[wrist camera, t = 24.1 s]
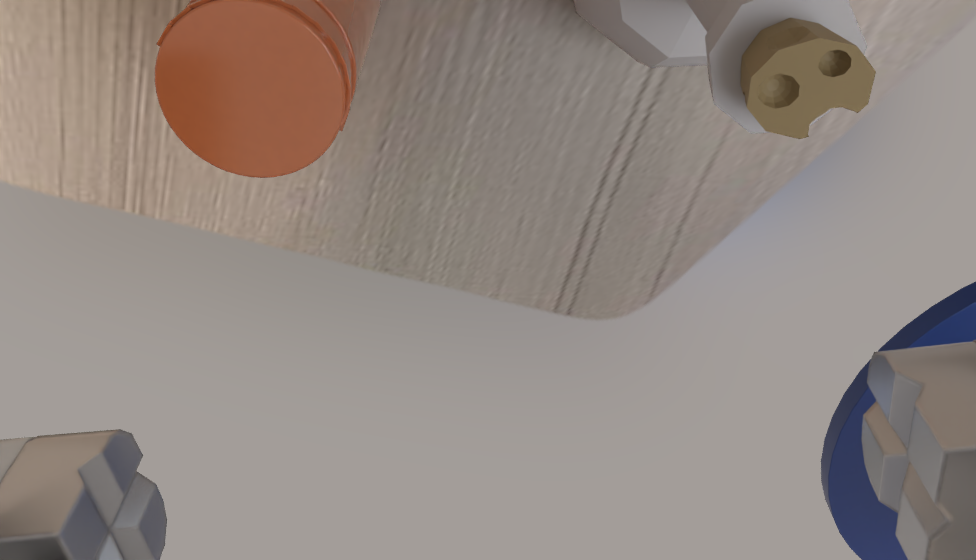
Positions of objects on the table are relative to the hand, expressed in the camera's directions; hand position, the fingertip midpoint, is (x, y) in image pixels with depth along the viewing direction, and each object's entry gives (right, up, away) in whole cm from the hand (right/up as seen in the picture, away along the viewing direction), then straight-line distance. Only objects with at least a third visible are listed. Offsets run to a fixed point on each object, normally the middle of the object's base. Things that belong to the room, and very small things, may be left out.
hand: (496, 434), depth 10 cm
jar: (-7, +13, +26) cm, 30 cm away
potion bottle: (+7, +16, +25) cm, 30 cm away
